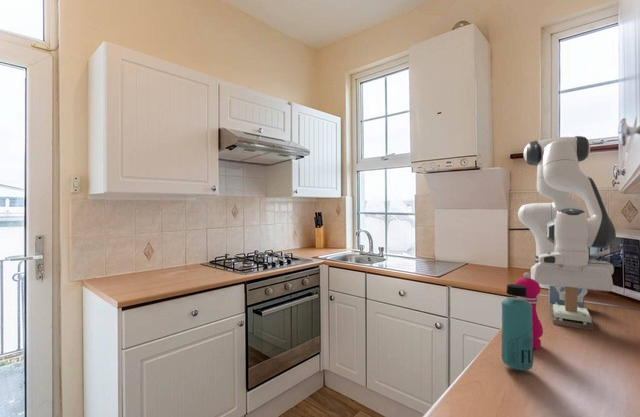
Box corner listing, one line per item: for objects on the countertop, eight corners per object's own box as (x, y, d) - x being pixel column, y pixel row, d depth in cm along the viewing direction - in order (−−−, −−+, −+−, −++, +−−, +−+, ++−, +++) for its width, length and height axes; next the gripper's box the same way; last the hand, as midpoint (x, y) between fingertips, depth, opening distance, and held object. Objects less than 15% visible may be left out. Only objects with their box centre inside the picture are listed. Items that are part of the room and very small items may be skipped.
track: (549, 306, 120) (549, 301, 120) (583, 311, 114) (583, 305, 114) (553, 324, 103) (553, 317, 103) (593, 330, 97) (593, 323, 97)
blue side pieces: (548, 302, 125) (548, 282, 124) (581, 307, 119) (581, 285, 119) (549, 307, 119) (549, 285, 119) (584, 311, 114) (584, 289, 114)
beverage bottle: (522, 379, 71) (522, 290, 70) (494, 366, 77) (494, 283, 76) (540, 372, 74) (540, 286, 73) (512, 360, 80) (512, 280, 79)
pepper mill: (533, 339, 91) (533, 270, 91) (549, 350, 84) (549, 275, 84) (507, 338, 92) (507, 269, 92) (520, 349, 85) (520, 275, 85)
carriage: (552, 308, 111) (553, 281, 111) (586, 313, 106) (586, 284, 106) (555, 317, 103) (555, 287, 102) (591, 322, 98) (591, 291, 98)
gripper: (611, 259, 101) (611, 303, 101) (533, 254, 112) (533, 293, 112) (616, 263, 96) (615, 308, 96) (534, 257, 107) (534, 298, 107)
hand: (570, 300), depth 104 cm, fingers closed on carriage, 3 cm apart
